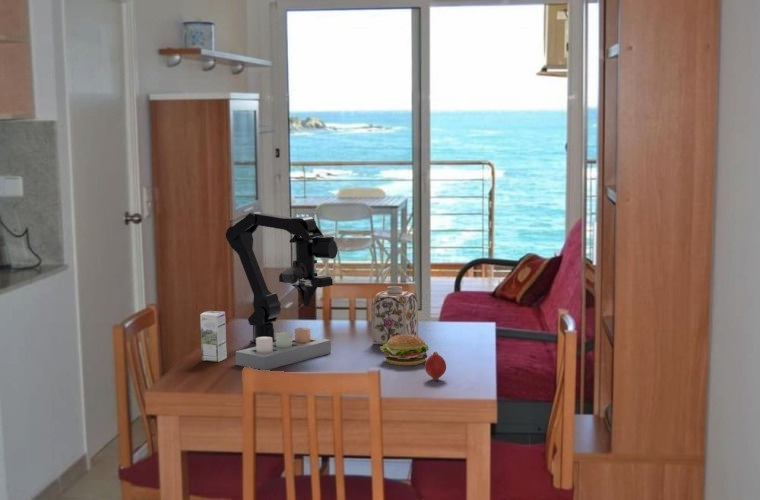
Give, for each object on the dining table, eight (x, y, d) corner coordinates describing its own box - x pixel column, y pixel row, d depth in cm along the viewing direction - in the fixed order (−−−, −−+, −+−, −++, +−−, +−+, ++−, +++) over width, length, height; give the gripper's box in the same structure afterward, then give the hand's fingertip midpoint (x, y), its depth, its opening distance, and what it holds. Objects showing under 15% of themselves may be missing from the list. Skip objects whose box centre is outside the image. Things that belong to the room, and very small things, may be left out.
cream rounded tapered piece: (253, 360, 301) (252, 338, 300) (265, 357, 304) (264, 335, 304) (264, 362, 298) (263, 340, 297) (276, 359, 301) (275, 337, 301)
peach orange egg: (292, 350, 313) (291, 329, 312) (303, 347, 317) (302, 326, 316) (303, 352, 310) (302, 331, 309) (314, 349, 313) (313, 328, 313)
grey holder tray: (235, 364, 301) (235, 351, 300) (303, 347, 322) (302, 335, 321) (264, 370, 293) (263, 357, 292) (330, 352, 314) (330, 340, 313)
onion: (423, 377, 283) (423, 349, 282) (444, 376, 284) (444, 348, 283) (426, 382, 277) (426, 353, 276) (447, 382, 278) (447, 353, 277)
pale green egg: (273, 355, 307) (272, 334, 306) (284, 352, 310) (283, 331, 310) (284, 357, 304) (283, 336, 303) (295, 354, 307) (295, 333, 307)
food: (373, 359, 305) (372, 333, 304) (415, 354, 311) (415, 328, 310) (392, 369, 293) (391, 342, 292) (436, 364, 298) (435, 337, 297)
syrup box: (227, 358, 309) (226, 310, 307) (218, 362, 304) (216, 314, 302) (210, 356, 311) (209, 309, 309) (201, 361, 306) (199, 313, 304)
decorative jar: (371, 344, 325) (370, 288, 323) (385, 337, 336) (384, 283, 333) (406, 347, 321) (406, 290, 318) (419, 339, 331) (418, 284, 329)
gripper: (265, 257, 319) (267, 306, 321) (307, 262, 307) (308, 313, 309) (291, 253, 328) (292, 301, 330) (333, 258, 315) (334, 308, 317)
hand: (306, 306), depth 321 cm, fingers closed
